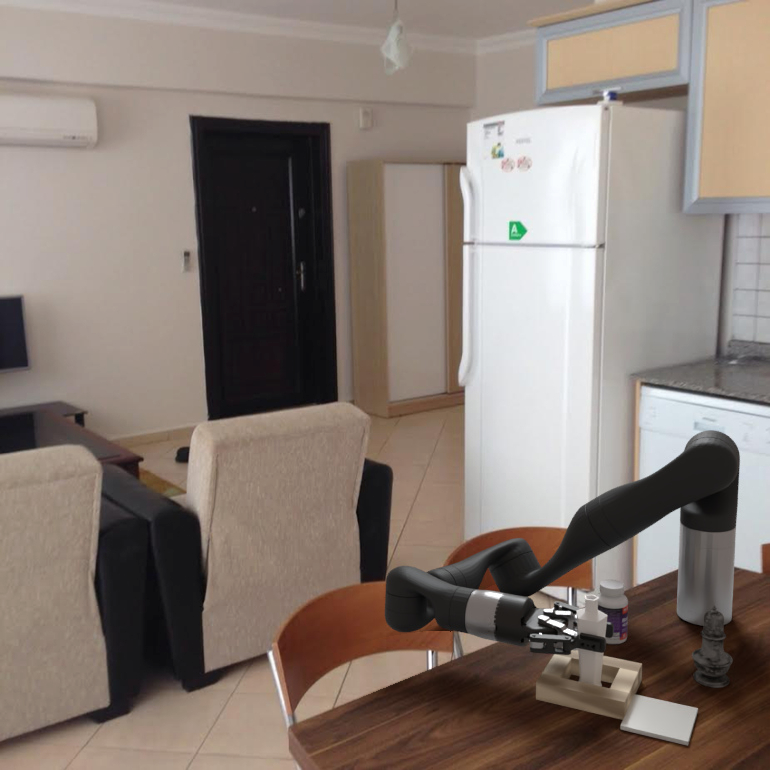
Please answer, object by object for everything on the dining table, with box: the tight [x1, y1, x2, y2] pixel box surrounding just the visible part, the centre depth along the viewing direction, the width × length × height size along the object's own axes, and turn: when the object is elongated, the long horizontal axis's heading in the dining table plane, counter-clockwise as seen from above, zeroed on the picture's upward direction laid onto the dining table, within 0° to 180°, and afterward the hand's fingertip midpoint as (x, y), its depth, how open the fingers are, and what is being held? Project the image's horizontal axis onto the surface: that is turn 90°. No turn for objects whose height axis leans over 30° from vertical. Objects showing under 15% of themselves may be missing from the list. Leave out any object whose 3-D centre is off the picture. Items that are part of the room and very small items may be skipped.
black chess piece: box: [691, 606, 734, 689], centre depth 132 cm, size 6×6×12 cm
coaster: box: [620, 693, 699, 746], centre depth 122 cm, size 9×9×1 cm
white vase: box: [576, 594, 607, 687], centre depth 129 cm, size 5×4×15 cm
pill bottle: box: [596, 579, 629, 645], centre depth 146 cm, size 5×5×10 cm
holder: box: [535, 647, 643, 721], centre depth 130 cm, size 12×13×3 cm
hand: (608, 638), depth 128 cm, fingers closed on white vase, 4 cm apart
